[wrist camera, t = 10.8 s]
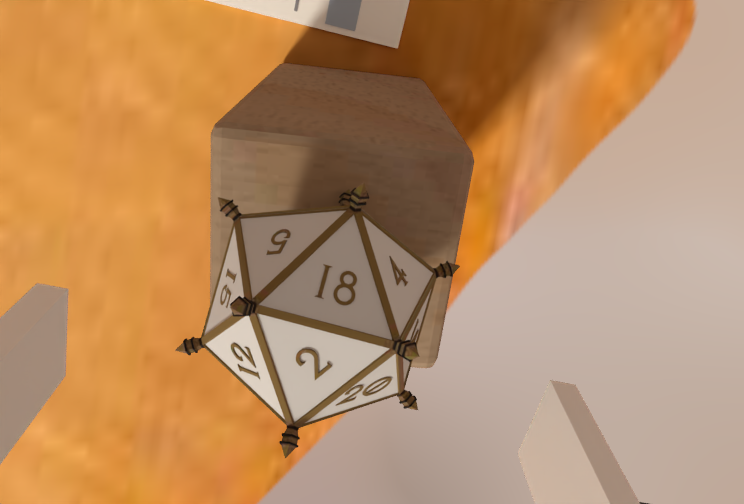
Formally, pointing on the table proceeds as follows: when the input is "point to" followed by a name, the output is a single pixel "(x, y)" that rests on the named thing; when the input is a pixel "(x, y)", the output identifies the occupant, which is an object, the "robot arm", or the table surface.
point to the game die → (317, 310)
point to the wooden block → (347, 164)
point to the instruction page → (337, 16)
